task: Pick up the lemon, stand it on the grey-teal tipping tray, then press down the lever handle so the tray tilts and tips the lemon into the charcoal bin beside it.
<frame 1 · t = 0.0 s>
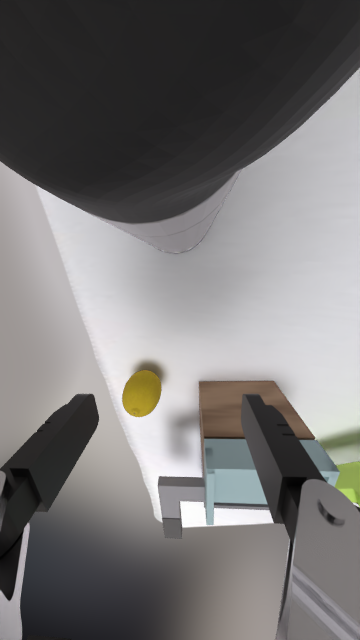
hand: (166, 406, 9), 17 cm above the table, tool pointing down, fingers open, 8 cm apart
bin: (233, 449, 34), on the table
tipping tray: (232, 505, 21), point 11 cm above the table, hinge at 0.0°
catamaran: (357, 456, 33), on the table
lemon: (149, 374, 29), on the table
pedestal: (234, 403, 30), on the table
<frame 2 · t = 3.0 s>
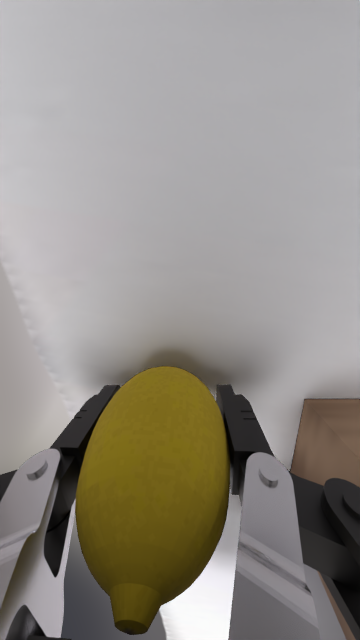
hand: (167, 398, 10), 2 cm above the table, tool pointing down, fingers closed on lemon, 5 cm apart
bin: (353, 548, 15), on the table
lemon: (171, 378, 11), on the table, touching gripper
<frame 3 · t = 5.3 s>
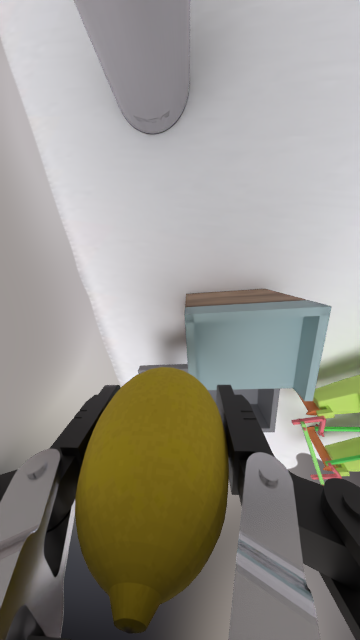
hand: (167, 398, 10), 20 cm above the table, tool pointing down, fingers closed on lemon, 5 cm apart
bin: (227, 377, 32), on the table
tipping tray: (219, 389, 19), point 12 cm above the table, hinge at 0.0°
lemon: (170, 379, 11), point 18 cm above the table, touching gripper
pedestal: (224, 319, 28), on the table
when the fingers open (13 cm above the table, at t = 7.4 s): lemon stays where it is, point 11 cm above the table.
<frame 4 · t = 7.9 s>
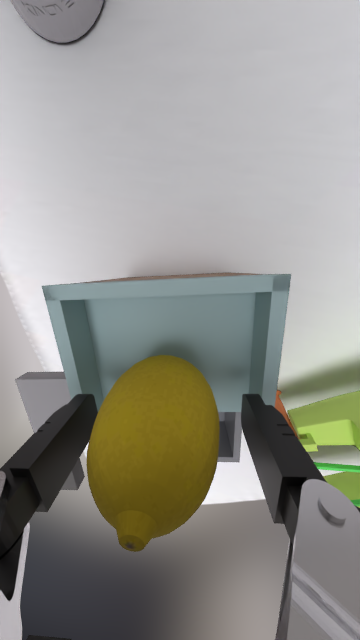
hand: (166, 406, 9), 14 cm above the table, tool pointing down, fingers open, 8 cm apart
bin: (186, 387, 25), on the table
tipping tray: (134, 411, 12), point 11 cm above the table, hinge at -1.1°
catamaran: (355, 404, 25), on the table
lemon: (171, 370, 12), point 11 cm above the table
pedestal: (179, 313, 22), on the table
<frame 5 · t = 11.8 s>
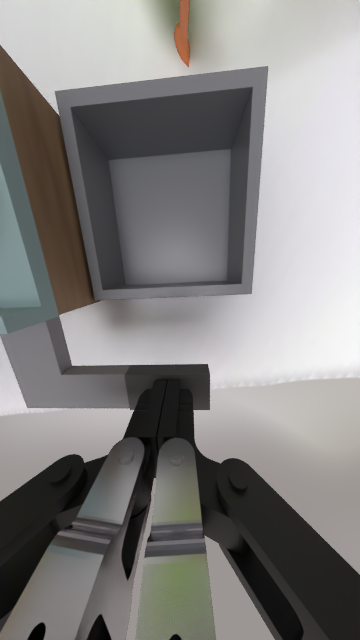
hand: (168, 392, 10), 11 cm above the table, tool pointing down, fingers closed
bin: (172, 226, 17), on the table
tipping tray: (7, 256, 8), point 11 cm above the table, hinge at -0.4°, touching gripper, lemon
pedestal: (67, 238, 18), on the table
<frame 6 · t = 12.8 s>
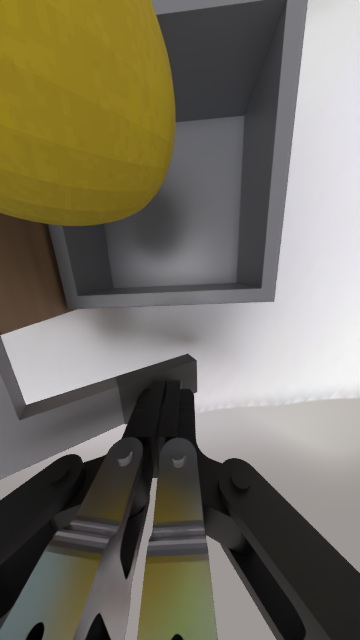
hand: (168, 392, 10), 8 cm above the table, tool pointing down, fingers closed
bin: (170, 217, 14), on the table
pedestal: (42, 231, 15), on the table
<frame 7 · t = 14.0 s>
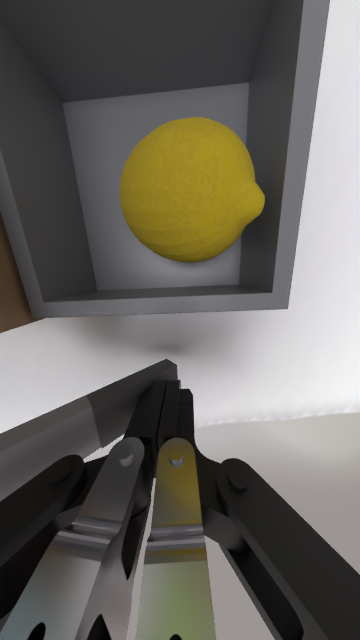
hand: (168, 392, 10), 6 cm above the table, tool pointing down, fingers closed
bin: (162, 208, 12), on the table
lemon: (269, 205, 6), point 7 cm above the table, touching bin
pedestal: (14, 225, 13), on the table
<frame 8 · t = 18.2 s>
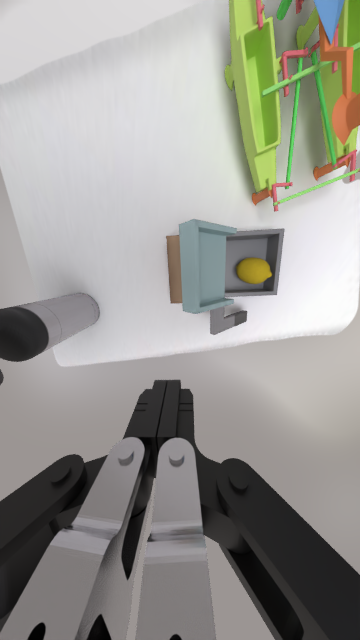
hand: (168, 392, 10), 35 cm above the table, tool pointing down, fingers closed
bin: (240, 265, 41), on the table
tipping tray: (225, 285, 31), point 11 cm above the table, hinge at 43.5°
catamaran: (273, 127, 33), on the table
lemon: (272, 275, 34), point 7 cm above the table, touching bin
pedestal: (192, 270, 41), on the table
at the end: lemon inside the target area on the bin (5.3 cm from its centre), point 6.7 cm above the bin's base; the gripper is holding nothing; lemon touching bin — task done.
